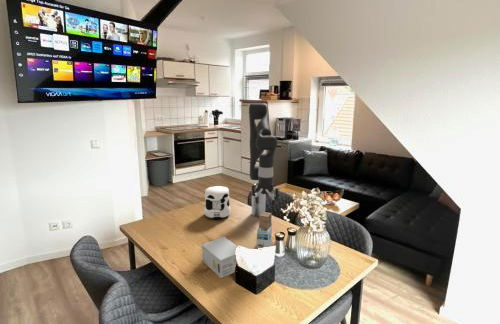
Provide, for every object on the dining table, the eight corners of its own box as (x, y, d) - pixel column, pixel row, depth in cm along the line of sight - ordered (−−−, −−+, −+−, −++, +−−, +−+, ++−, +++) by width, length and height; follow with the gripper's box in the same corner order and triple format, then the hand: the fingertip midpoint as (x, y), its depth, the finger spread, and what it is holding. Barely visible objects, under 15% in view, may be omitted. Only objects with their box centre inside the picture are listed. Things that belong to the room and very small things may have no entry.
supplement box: (201, 261, 140) (201, 244, 138) (224, 252, 148) (224, 236, 146) (220, 278, 128) (220, 259, 125) (244, 268, 135) (244, 250, 133)
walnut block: (262, 223, 157) (262, 211, 155) (271, 225, 155) (271, 213, 153) (258, 227, 152) (259, 215, 151) (267, 229, 150) (268, 216, 149)
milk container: (220, 208, 205) (219, 184, 200) (236, 216, 192) (235, 190, 188) (199, 215, 193) (198, 189, 189) (214, 223, 181) (213, 196, 177)
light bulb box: (269, 250, 150) (269, 231, 148) (256, 249, 152) (256, 230, 149) (271, 240, 160) (272, 222, 158) (259, 239, 162) (260, 221, 159)
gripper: (281, 174, 147) (280, 204, 151) (255, 171, 153) (255, 200, 157) (276, 178, 141) (276, 209, 145) (250, 175, 146) (249, 205, 150)
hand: (265, 204), depth 151 cm, fingers open, 8 cm apart
